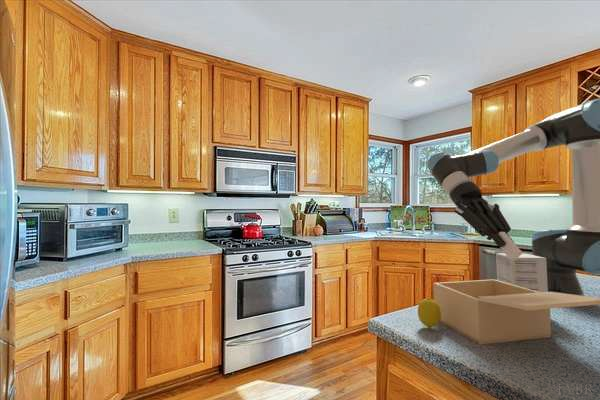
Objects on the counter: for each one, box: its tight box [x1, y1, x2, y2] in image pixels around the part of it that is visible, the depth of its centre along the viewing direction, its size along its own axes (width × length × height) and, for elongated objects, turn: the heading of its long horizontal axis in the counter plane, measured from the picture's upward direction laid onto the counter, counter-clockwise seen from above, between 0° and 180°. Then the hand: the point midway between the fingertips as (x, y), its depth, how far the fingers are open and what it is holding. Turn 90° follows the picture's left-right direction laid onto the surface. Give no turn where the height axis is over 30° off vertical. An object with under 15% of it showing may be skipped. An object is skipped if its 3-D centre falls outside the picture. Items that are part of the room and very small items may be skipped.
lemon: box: [417, 296, 441, 330], centre depth 75 cm, size 6×6×8 cm
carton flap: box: [478, 292, 600, 310], centre depth 62 cm, size 20×1×12 cm
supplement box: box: [495, 252, 548, 292], centre depth 88 cm, size 10×9×17 cm
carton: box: [432, 279, 552, 346], centre depth 76 cm, size 20×16×10 cm
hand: (516, 256), depth 68 cm, fingers closed
